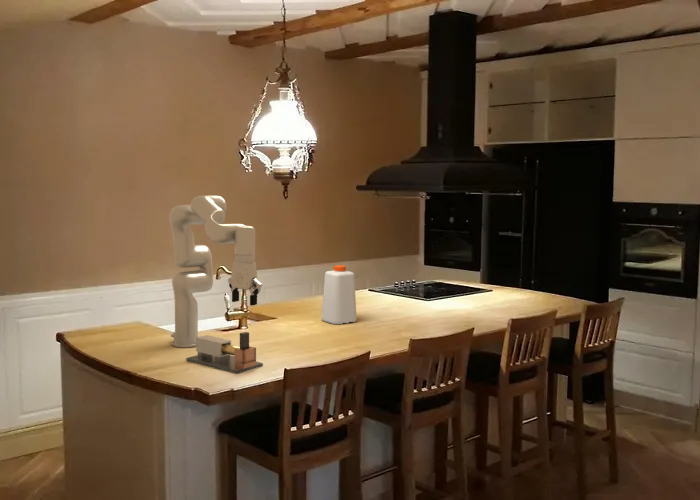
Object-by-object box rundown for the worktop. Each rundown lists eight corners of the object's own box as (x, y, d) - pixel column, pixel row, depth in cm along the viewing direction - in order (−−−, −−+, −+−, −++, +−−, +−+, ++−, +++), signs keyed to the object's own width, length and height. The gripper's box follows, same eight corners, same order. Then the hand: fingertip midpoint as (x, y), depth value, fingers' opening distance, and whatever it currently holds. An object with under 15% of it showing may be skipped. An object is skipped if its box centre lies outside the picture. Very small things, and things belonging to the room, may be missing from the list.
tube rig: (186, 360, 288) (186, 338, 287) (213, 354, 300) (213, 333, 299) (236, 373, 272) (236, 350, 271) (262, 366, 283) (263, 343, 282)
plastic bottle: (359, 322, 367) (360, 266, 364) (334, 325, 359) (335, 268, 355) (343, 317, 379) (343, 263, 376) (318, 320, 371) (318, 265, 368)
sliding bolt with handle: (212, 351, 286) (212, 327, 285) (219, 350, 289) (219, 326, 288) (243, 359, 276) (243, 334, 275) (250, 357, 279) (250, 332, 278)
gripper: (221, 257, 280) (221, 301, 282) (254, 262, 269) (253, 307, 271) (236, 255, 286) (235, 298, 288) (268, 260, 275) (267, 305, 277)
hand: (244, 303), depth 280 cm, fingers open, 9 cm apart
